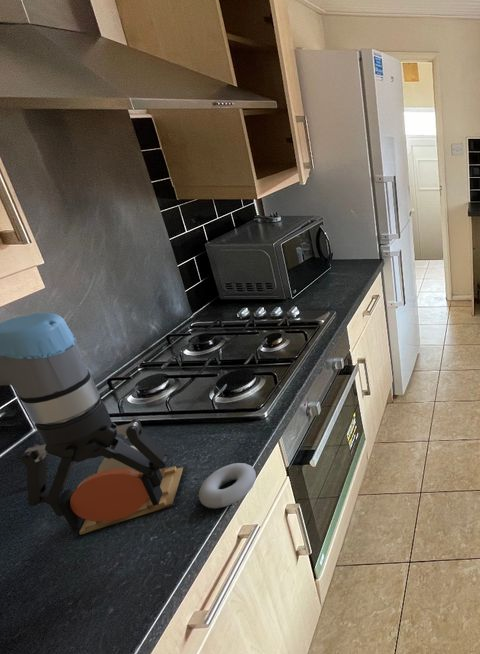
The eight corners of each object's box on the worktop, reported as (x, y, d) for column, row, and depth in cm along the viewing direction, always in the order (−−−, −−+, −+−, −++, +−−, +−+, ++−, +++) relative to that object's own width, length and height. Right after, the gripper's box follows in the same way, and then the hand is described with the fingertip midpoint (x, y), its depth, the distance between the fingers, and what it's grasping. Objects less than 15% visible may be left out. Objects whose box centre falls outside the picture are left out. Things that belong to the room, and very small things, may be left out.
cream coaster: (107, 497, 84) (89, 459, 80) (109, 492, 85) (91, 455, 81) (168, 479, 88) (153, 443, 85) (169, 475, 89) (155, 439, 86)
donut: (252, 463, 93) (198, 487, 87) (249, 452, 92) (194, 475, 86) (262, 493, 86) (203, 522, 80) (258, 481, 85) (199, 509, 79)
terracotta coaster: (83, 530, 70) (58, 487, 67) (86, 524, 71) (62, 482, 68) (157, 506, 74) (137, 465, 71) (158, 501, 75) (139, 460, 72)
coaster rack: (80, 534, 77) (76, 528, 77) (100, 493, 86) (97, 486, 85) (172, 505, 83) (169, 499, 83) (183, 468, 92) (180, 462, 91)
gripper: (165, 376, 72) (201, 471, 80) (-20, 416, 63) (43, 519, 71) (153, 402, 66) (193, 502, 74) (-55, 451, 56) (19, 559, 65)
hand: (120, 511), depth 72 cm, fingers closed on terracotta coaster, 10 cm apart
